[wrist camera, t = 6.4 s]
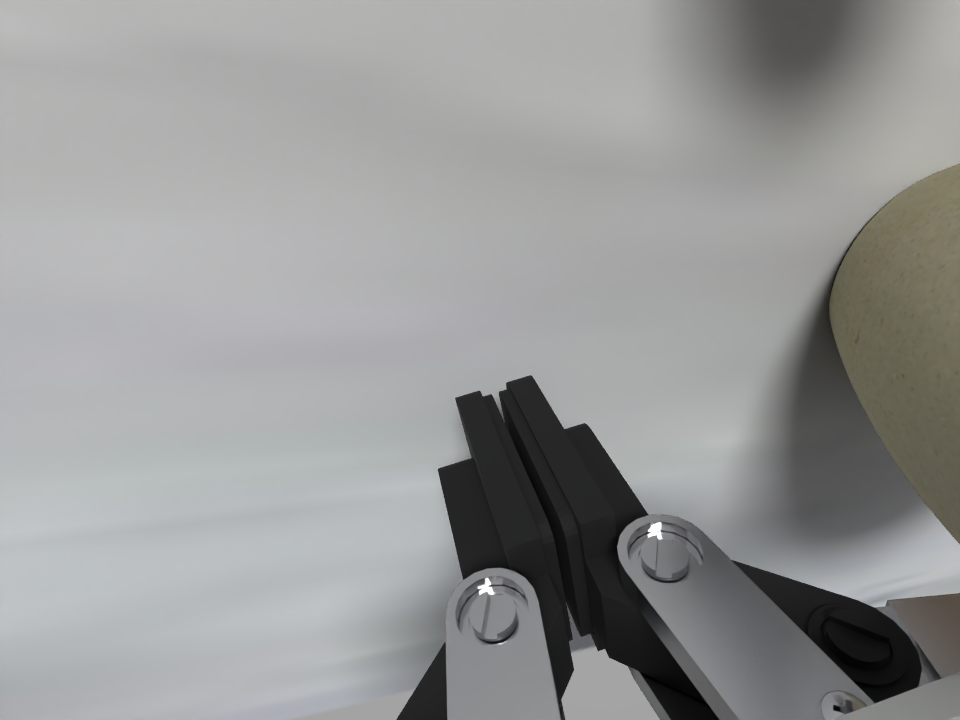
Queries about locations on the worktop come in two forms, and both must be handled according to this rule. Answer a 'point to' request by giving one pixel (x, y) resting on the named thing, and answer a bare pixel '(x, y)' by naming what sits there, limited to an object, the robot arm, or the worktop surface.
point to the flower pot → (909, 335)
